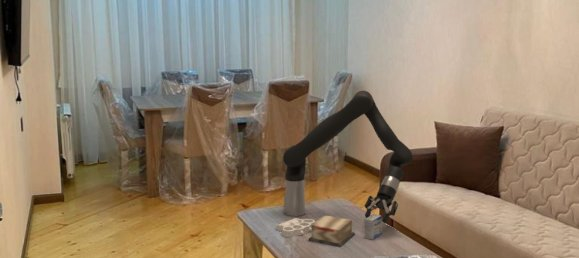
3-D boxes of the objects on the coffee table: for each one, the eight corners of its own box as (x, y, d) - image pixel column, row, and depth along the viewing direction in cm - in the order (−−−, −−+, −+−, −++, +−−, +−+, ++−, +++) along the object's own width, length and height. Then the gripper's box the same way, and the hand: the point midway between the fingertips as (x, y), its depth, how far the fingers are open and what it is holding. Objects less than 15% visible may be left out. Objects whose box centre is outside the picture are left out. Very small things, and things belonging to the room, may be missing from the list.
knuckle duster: (298, 221, 274) (322, 229, 264) (270, 232, 262) (294, 241, 251) (298, 214, 273) (321, 222, 263) (270, 225, 261) (293, 233, 251)
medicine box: (373, 240, 250) (373, 220, 248) (364, 237, 253) (364, 218, 251) (381, 234, 256) (382, 215, 254) (372, 232, 259) (373, 213, 257)
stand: (308, 240, 250) (308, 225, 249) (323, 229, 263) (323, 214, 262) (340, 247, 243) (340, 231, 242) (354, 234, 256) (354, 219, 254)
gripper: (371, 181, 262) (357, 212, 256) (400, 186, 253) (386, 219, 247) (377, 189, 267) (364, 220, 261) (405, 195, 258) (392, 227, 252)
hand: (375, 220), depth 254 cm, fingers open, 8 cm apart
